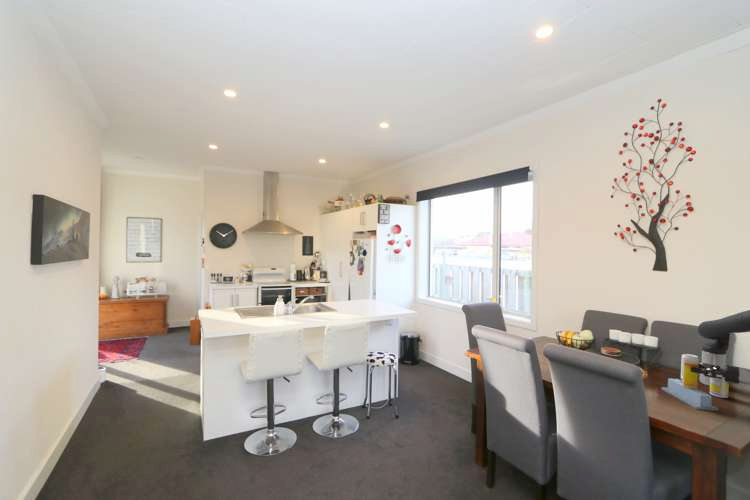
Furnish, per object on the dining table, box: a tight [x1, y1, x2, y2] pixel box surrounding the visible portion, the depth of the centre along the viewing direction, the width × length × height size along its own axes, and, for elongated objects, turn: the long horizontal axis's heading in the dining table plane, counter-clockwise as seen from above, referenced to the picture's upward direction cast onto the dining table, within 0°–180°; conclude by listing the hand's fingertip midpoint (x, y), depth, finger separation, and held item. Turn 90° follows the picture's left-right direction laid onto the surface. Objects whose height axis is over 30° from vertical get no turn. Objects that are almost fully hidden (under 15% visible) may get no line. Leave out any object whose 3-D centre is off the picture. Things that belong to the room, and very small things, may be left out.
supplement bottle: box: [709, 377, 730, 399], centre depth 174 cm, size 7×7×13 cm
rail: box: [661, 378, 719, 412], centre depth 169 cm, size 22×9×6 cm, turn 175°
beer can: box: [680, 353, 700, 389], centre depth 169 cm, size 6×6×15 cm
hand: (690, 366), depth 169 cm, fingers open, 8 cm apart
